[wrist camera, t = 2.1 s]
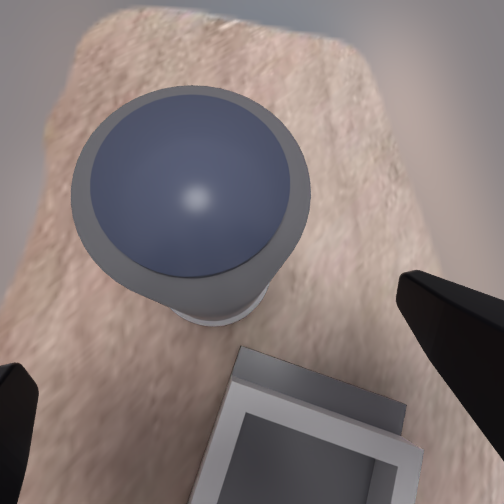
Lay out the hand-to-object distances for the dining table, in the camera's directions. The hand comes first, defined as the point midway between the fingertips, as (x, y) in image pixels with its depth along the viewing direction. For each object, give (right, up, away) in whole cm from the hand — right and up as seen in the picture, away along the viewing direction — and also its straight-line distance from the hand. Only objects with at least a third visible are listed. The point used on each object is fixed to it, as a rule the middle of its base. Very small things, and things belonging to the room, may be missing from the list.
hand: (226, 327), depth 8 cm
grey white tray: (+2, -10, +8) cm, 13 cm away
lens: (-1, 0, +11) cm, 11 cm away
